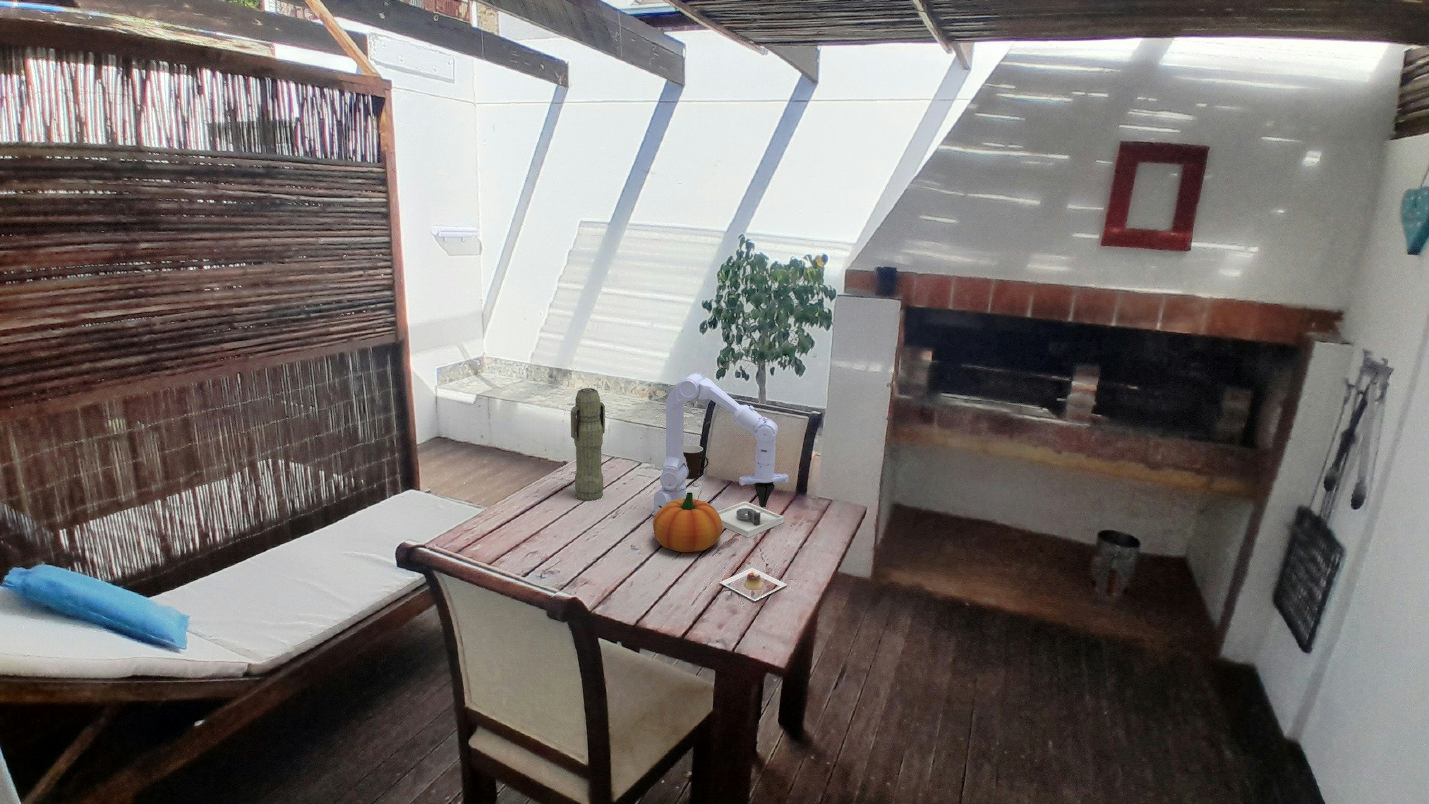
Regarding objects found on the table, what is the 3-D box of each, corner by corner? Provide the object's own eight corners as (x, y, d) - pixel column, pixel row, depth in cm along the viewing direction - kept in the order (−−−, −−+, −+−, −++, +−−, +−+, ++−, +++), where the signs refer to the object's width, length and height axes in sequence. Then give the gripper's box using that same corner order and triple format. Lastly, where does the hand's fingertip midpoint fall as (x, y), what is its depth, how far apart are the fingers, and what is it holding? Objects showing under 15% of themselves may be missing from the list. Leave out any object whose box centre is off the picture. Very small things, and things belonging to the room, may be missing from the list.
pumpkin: (677, 522, 212) (678, 475, 209) (734, 538, 203) (736, 489, 199) (638, 546, 196) (638, 495, 193) (697, 565, 187) (699, 511, 183)
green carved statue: (565, 497, 229) (563, 390, 220) (593, 487, 238) (592, 384, 229) (584, 504, 223) (582, 395, 215) (612, 494, 232) (611, 389, 224)
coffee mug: (674, 473, 253) (674, 446, 250) (696, 470, 257) (697, 443, 254) (686, 484, 243) (687, 456, 240) (709, 481, 246) (710, 453, 244)
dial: (732, 514, 215) (733, 504, 215) (749, 511, 218) (750, 501, 218) (749, 526, 207) (750, 516, 206) (767, 523, 210) (767, 512, 209)
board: (747, 537, 204) (747, 531, 203) (708, 520, 215) (708, 514, 214) (783, 522, 215) (784, 516, 214) (744, 506, 226) (745, 501, 225)
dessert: (718, 586, 177) (719, 568, 176) (751, 571, 186) (752, 554, 184) (754, 605, 169) (755, 587, 168) (787, 588, 177) (788, 570, 176)
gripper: (783, 456, 212) (780, 499, 216) (736, 459, 209) (734, 502, 212) (792, 464, 206) (789, 508, 209) (744, 467, 202) (742, 511, 205)
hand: (762, 506), depth 210 cm, fingers closed
